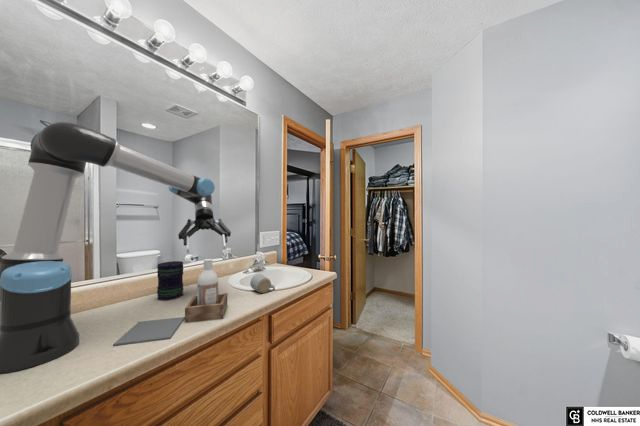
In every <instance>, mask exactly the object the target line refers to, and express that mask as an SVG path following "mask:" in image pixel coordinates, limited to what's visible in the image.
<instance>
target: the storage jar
mask: <svg viewBox="0 0 640 426" xmlns="http://www.w3.org/2000/svg"><path fill="white" fill-rule="evenodd" d="M156 273H157V276H156V277H157V290H156V291H157V292H156V294H157V298H156V299H157V301H162V302H163V301H164V302H167V301H172V300H177V299H180V298H182V297H183V296H184V282H183V279H184V278H183V276H184V261H181V260H177V261H176V260H175V261H174V260H173V261H165V262H160V263H158V264H157V272H156Z"/></svg>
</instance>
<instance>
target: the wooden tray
mask: <svg viewBox="0 0 640 426" xmlns="http://www.w3.org/2000/svg"><path fill="white" fill-rule="evenodd" d="M227 309H228V293H226V292H223V293H218V304H210V305H200V306H197V295H194V296H193V297H192V298H191V299H190V301H188V303H187V305H185V307H184V317H185V319H184V323H186V324H187V323H196V322H203V321H213V320H221V319H222V320H223V319H224V317H225V314H226V311H227Z"/></svg>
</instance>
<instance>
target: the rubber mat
mask: <svg viewBox="0 0 640 426" xmlns="http://www.w3.org/2000/svg"><path fill="white" fill-rule="evenodd" d="M184 321H185V316H181V317H180V316H178V317H170V318H169V317H168V318H161V319H151V320H142V321H138V322H136V324H134V325H133V326H132V327H131V328H130V329H129V330H128V331H127V332H125V333H124V334H123V335H122V336H121V337H120V338H118V339H117V340H116V341H115V342H114V343H113V344H112V346H113V347H116V346H117V347H118V346H124V345H133V344H139V343H147V342H149V343H150V342H155V341H163V340H170V339H172V338H173V336H174V335H175V333H176V332H177V331H178V329H179V328H180V326H181V325H182V323H183V322H184Z"/></svg>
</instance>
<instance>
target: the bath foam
mask: <svg viewBox="0 0 640 426" xmlns="http://www.w3.org/2000/svg"><path fill="white" fill-rule="evenodd" d="M196 287H197V288H196V290H197V293H196V294H197V295H196V296H197V306H200V305H210V304H218V294H219V277H218V274H217V273H216V272H215V270H214V269H213V259H212V258H205V259H203V270H202V272H201V273H200V274H199V276H198V279H197V285H196Z"/></svg>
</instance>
